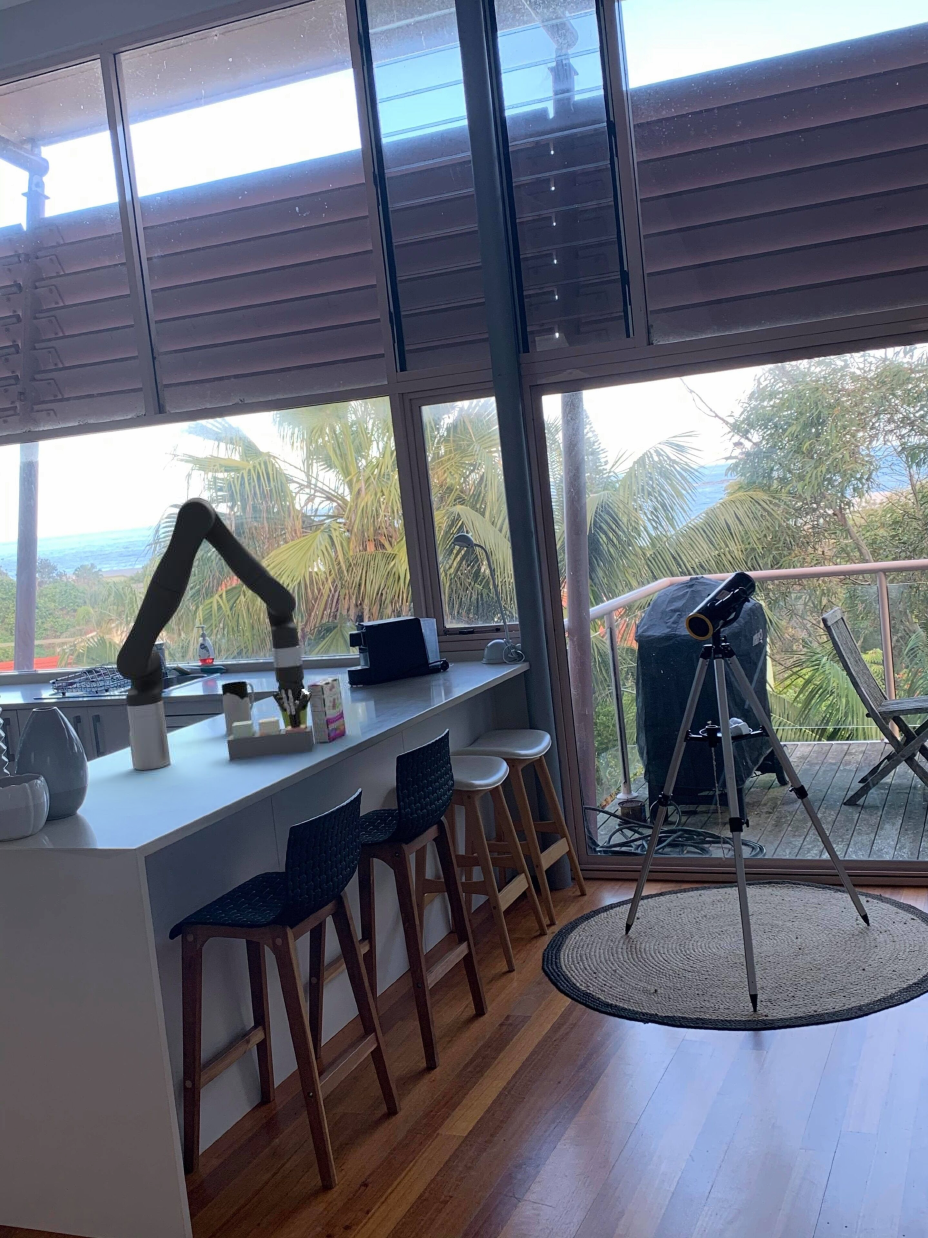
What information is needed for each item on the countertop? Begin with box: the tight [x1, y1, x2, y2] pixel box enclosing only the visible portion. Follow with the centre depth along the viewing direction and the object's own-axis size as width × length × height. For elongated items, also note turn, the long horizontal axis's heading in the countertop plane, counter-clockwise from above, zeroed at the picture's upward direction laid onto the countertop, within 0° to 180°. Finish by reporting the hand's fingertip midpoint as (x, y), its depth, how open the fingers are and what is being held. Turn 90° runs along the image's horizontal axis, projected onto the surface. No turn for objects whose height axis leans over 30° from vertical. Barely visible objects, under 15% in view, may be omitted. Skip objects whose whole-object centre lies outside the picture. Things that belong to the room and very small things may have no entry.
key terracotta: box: [286, 725, 306, 733], centre depth 308 cm, size 5×5×5 cm
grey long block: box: [226, 724, 315, 762], centre depth 307 cm, size 22×8×6 cm, turn 94°
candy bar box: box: [307, 677, 347, 744], centre depth 319 cm, size 11×5×16 cm, turn 161°
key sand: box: [257, 716, 281, 735], centre depth 307 cm, size 5×5×5 cm
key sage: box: [232, 719, 255, 739], centre depth 307 cm, size 5×5×5 cm
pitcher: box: [221, 680, 255, 736], centre depth 349 cm, size 9×14×15 cm, turn 158°
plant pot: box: [276, 701, 309, 729], centre depth 338 cm, size 9×9×9 cm
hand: (296, 727), depth 307 cm, fingers closed
